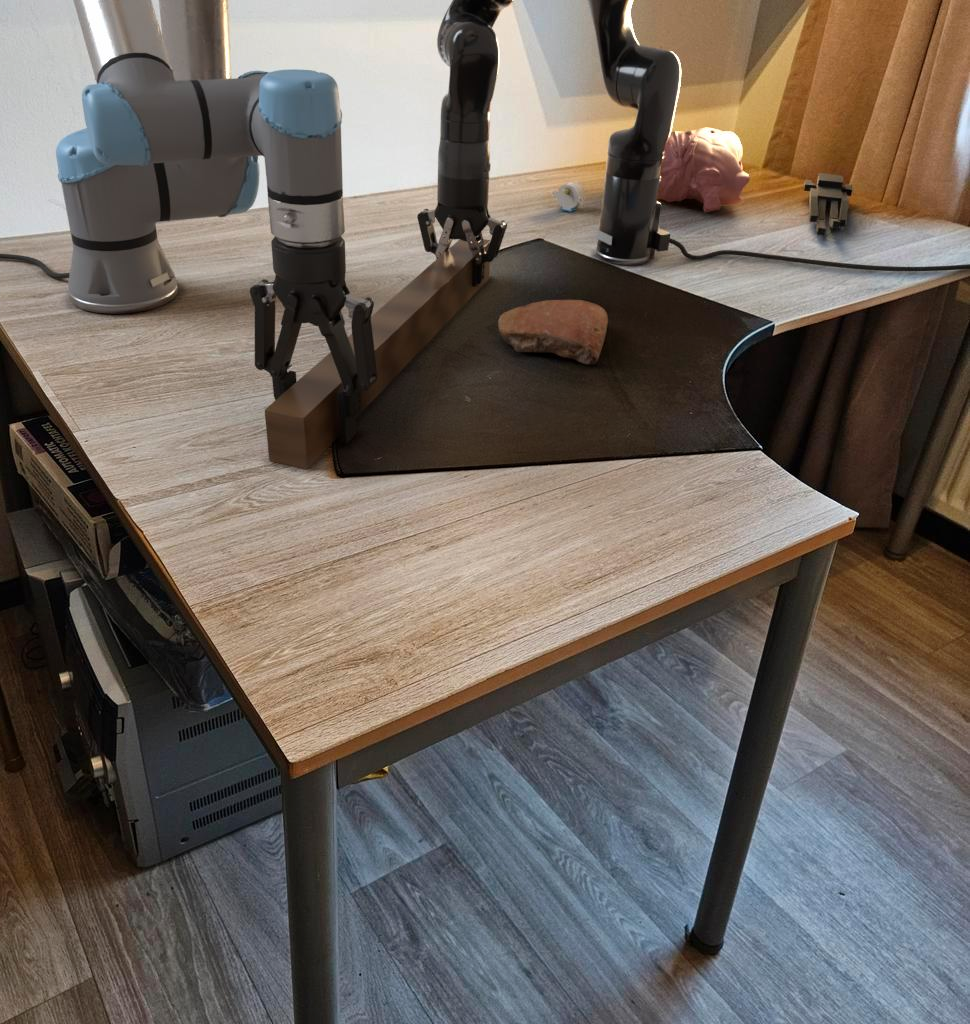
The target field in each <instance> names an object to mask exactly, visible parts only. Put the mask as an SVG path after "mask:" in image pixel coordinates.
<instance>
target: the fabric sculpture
mask: <svg viewBox="0 0 970 1024" xmlns="http://www.w3.org/2000/svg"><path fill="white" fill-rule="evenodd" d="M742 159H743V145H742V144H741V141H740V138H739V137H738V135H736V133H734V132H732V131H722V130H720V129H716V128H713V127H700V128H698V129H693V130H688V131H680V130H679V131H678V130H676V131H674V130H673V131H671V134H670V137H669V139H668V142H667V144H666V147H665V152H664V157H663V164H662V171H661V179H660V186H659V193H658V199H659V200H663V201H665V202H667V203H671V202H678V203H679V202H682V201H684V200H685V199H688V200H697V201H698V202H700V203H701V204H703V207H702V209H703V212H704V213H709V212H712V211H713V212H714V211H719V210H721V207H724V206H732V205H736V204H739V203H740V202H741V201H742V197H741V196H742V195H741V194H742V192H743V191H744V189H745V187H746V186H747V185H748V184H749V183H750V174H749V173H747V172H745V171H744V170H743V163H742Z"/></svg>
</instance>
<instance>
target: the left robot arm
mask: <svg viewBox="0 0 970 1024" xmlns="http://www.w3.org/2000/svg"><path fill="white" fill-rule="evenodd" d="M72 1H73V4H74V7H75V11H76V14H77V18H78V22H79V25H80V29H81V32H82V36H83V40H84V42H85V46H86V51H87V54H88V58H89V60H90V64H91V68H92V71H93V75H94V78H95V82H96V84H95V83H94V84H88V85H86V86H85V87H83V89H82V92H81V102H82V110H83V117H84V122H85V127H86V128H83V129H80V130H77V131H74V132H72V133H69V134H67V135H66V136H64V137H63V138H62V139H60V140H59V142H58V143H57V146H56V148H55V156H56V157H55V158H56V163H57V172H58V173H57V179H58V181H59V182H60V184H61V188H62V193H63V199H64V205H65V210H66V216H67V221H68V226H69V232H70V236H71V241H72V253H71V263H70V270H69V272H63V273H62V272H61V273H59V272H55V271H52V270H50V268H49V267H48V266H47V265H46V264H45V263H44V262H42V261H41V260H39V259H37V258H34V257H31V256H26V255H22V254H10V253H0V260H13V261H22V262H25V263H30V264H34V265H36V266H38V267H39V268H41V270H42V271H43V272H44V273H45V274H46V275H47V276H49V277H51V278H54V279H60V280H61V279H68V282H67V283H68V287H67V288H68V295H69V300H70V302H71V303H72V304H73V305H74V306H75V307H77V308H79V309H81V310H83V311H88V312H92V313H99V314H110V315H115V314H117V315H118V314H131V313H140V312H144V311H145V312H146V311H149V310H152V309H156V308H158V307H162V306H164V305H166V304H168V303H170V302H171V301H173V300H174V299H175V298H176V297H177V295H178V293H179V288H178V281H177V277H176V275H175V272H174V270H173V268H172V267H171V264H170V262H169V260H168V257H167V256H166V254H165V253H164V250H163V248H162V246H161V244H160V242H159V239H158V233H157V226H156V224H157V223H163V222H173V221H181V220H182V221H183V220H191V219H193V220H195V219H202V218H212V217H218V218H226V217H228V216H232V215H237V214H243V213H247V212H248V210H250V209H251V208H252V207H253V206H254V204H255V202H256V200H257V197H258V193H259V187H260V163H259V162H258V161H259V157H260V156H262V157H263V158H264V168H265V177H266V188H267V189H266V190H267V202H268V203H267V204H268V214H269V215H268V216H269V227H270V233H271V234H272V236H273V238H272V239H271V241H270V243H271V244H270V245H271V257H272V268H273V272H274V274H275V276H274V280H273V281H269V280H267V279H264V278H263V279H262V280H260V281H258V282H257V283H256V284H253V286H251V287H250V288H249V295H250V298H251V300H252V304H253V307H254V367H255V368H256V369H257V370H259V371H266V372H267V373H269V375H270V377H271V380H272V392H273V398H274V401H275V400H276V399H278V398H279V397H280V396H281V395H282V394H283V393H284V392H286V391H287V390H288V389H289V388H290V387H291V386H292V385H294V384H295V383H296V382H297V381H298V380H297V371H294V370H289V369H290V368H291V367H292V366H293V364H291V363H292V360H293V359H292V358H293V356H294V352H295V348H296V345H297V342H298V338H299V335H300V332H301V328H302V325H303V324H311V325H313V326H315V327H317V328H318V329H319V332H320V335H321V336H322V337H324V338H325V341H326V344H327V346H328V349H329V353H330V352H331V354H332V357H333V360H334V362H335V365H336V368H337V371H338V373H339V376H340V379H341V381H342V384H343V387H342V388H341V389H340V390H339V391H338V409H339V431H340V436H339V443H340V444H343V445H347V444H348V443H349V442H350V441H351V440H352V439H353V438H354V437H355V436H356V435H357V421H356V419H357V418H355V417H356V416H357V415H358V414H359V413H360V412H361V409H362V392H361V390H364V391H366V390H368V389H369V388H370V387H371V386H372V385H373V384H374V383H375V382H376V381H377V379H378V376H377V367H376V359H375V350H374V342H373V333H372V325H371V316H372V315H373V311H374V306H375V301H374V299H373V298H372V297H369V296H366V297H365V298H364V299H363V298H360V297H358V296H356V295H354V294H351V292H350V289H349V287H348V285H347V282H346V273H347V263H346V262H347V260H346V241H345V239H344V238H343V235H344V234H345V231H346V229H345V228H346V227H345V213H344V212H345V211H344V190H343V189H344V188H343V185H344V183H343V156H342V154H343V151H342V150H343V149H342V147H343V146H342V123H343V112H342V109H341V102H340V95H339V86H338V83H337V81H336V79H335V78H334V77H333V76H331V75H330V74H329V73H326V72H318V71H316V70H313V69H298V68H297V69H295V68H294V69H279V70H274V71H264V70H250V71H247V72H244V73H243V74H241V75H239V76H238V77H237V78H232V60H231V34H230V33H231V32H230V31H231V30H230V11H229V8H230V6H229V5H230V4H229V0H158V4H159V5H158V8H159V17H160V25H159V22H158V19H157V15H156V11H155V8H154V4H153V1H152V0H72ZM276 299H278V300H279V302H280V303H281V304H282V306H283V308H284V310H283V314H282V317H281V321H280V326H281V327H280V332H279V335H278V339H277V341H276ZM344 307H346V308H347V310H348V315H347V317H348V318H350V319H351V326H350V327H351V334H352V337H353V345H354V352H355V356H354V353H353V350H352V347H351V345H350V342H349V339H348V336H349V335H348V333H347V331H346V328H345V324H346V321H345V318H344V315H343V312H342V310H343V309H344ZM276 342H277V343H276Z"/></svg>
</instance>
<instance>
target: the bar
mask: <svg viewBox="0 0 970 1024" xmlns="http://www.w3.org/2000/svg"><path fill="white" fill-rule="evenodd" d="M483 239H484V238H483ZM490 241H491V239H486V238H485V239H484V248H485V251H487V250H488V247H489V244H490ZM473 263H474V259H473V255H472V251H471V250H470V249H469V246H468V242H466V241H463V240H460V239H457V241H456V242H455V243H454V244H452V245H450V247H449V249H448V250H447V251H446V252H445V253H443V254H442V255H441V256H440V257H439V258H438V259H437V260H436V259H435V260H434V261H433V262H432V263H431V264H429V266H427V267H426V268H425V269H424V270H423V271H421V272H420V273H419V274H418V275H417V276H416V277H415V278H414V279H412V280H411V281H410V282H409V283H407V284H406V286H404V287H403V288H402V289H401V290H400V291H399V292H398V293H397V294H395V295H394V296H393V297H392V298H390V300H388V301H387V302H386V303H384V304H383V306H381V307H380V308H379V309H378V310H377V311H375V313H374V314H372V315H371V325H372V333H373V342H374V350H375V359H376V367H377V376H378V379H377V381H376V382H375V383H374V384H373V385H372V386H371V387H370V388H369V389H368V390H366V391H364V390H361V392H362V409H361V412H360V413H359V414H358V415H357V416H356V417H355V418H356V419H357V418H358V417H359V416H360V415H361V414H362V413H363V412H364V410H366V409H367V408H368V406H369V405H370V404H371V403H372V402H373V401H374V400H376V398H377V397H378V396H379V395H380V394H381V393H382V392H383V391H384V390H385V389H386V387H388V385H389V384H390V383H391V382H392V381H393V380H395V378H396V377H397V376H398V375H399V374H400V373H401V372H402V371H403V370H404V369H405V368H406V367H407V366H408V365H409V363H411V362H412V360H413V359H414V358H415V357H416V356H417V355H418V354H419V353H420V352H421V351H422V350H423V349H424V348H426V345H428V343H429V342H430V341H432V340H433V338H434V337H435V336H436V335H438V334H439V332H440V331H441V330H442V329H443V328H444V327H445V326H446V325H447V324H448V323H449V322H450V321H451V320H452V319H453V318H454V317H455V315H456V314H457V313H459V312H460V310H461V309H462V308H464V306H465V305H466V304H467V303H468V302H469V301H470V300H471V299H472V298H473V297H474V296H475V295H476V294H477V292H478V291H479V290H480V289H481V288H482V287H484V285H485V284H486V283H487V282H488V281H489V280H490V271H491V268H490V267H491V262H485V272H484V280H483V281H482V282H481V283H480V284H479V285H478V286H477V287H473V286H472V271H473ZM347 336H348V339H349V342H350V345H351V347H352V350H353V353H354V356H355V352H354V345H353V337H352V333H351V334H350V335H347ZM296 381H297V382H296V383H295V384H294V385H292V386H291V387H290V388H289V389H288V390H287V391H286V392H284V393H283V394H282V395H281V396H280V397H279V398H278V399H276V400H275V399H274V401H273V402H272V403H270V404H269V405H268V406H267V407H266V408H265V409H264V418H265V420H264V421H265V428H266V429H265V431H266V440H267V441H266V442H267V450H268V460H269V462H273V463H277V464H282V465H287V466H290V467H296V468H298V469H303V470H308V469H309V468H310V467H311V466H312V465H313V464H314V463H316V461H317V460H318V459H319V458H320V457H321V455H323V454H324V452H325V451H326V450H328V448H329V447H330V446H331V445H332V444H333V443H334V442H335V441H336V440H337V439H338V438H340V431H339V409H338V391H339V390H340V389H341V388H342V387H343V384H342V381H341V379H340V376H339V373H338V371H337V368H336V365H335V362H334V360H333V357H332V354H331V352H330V351H329V353H328V354H326V356H324V357H323V358H322V359H321V360H319V362H317V363H316V364H315V365H314V366H313V367H312V368H311V369H309V370H308V371H307V372H306V373H305V374H304V375H303V376H302V377H300V378H299V379H298V380H296Z"/></svg>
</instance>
